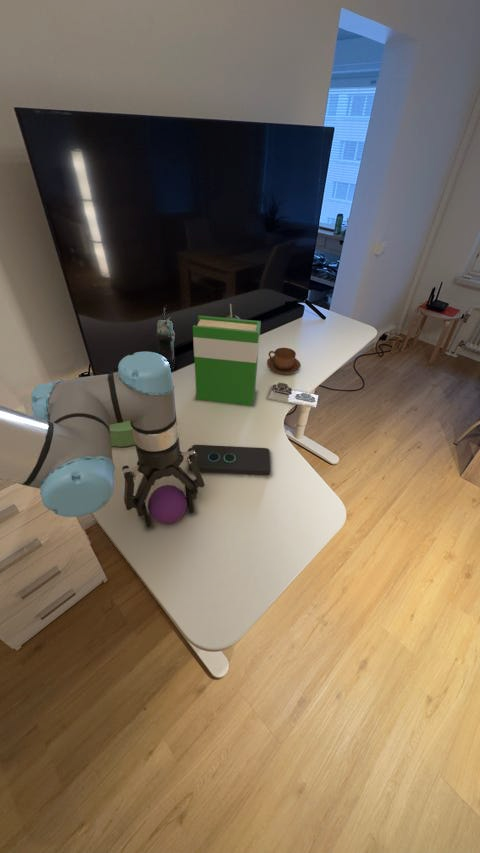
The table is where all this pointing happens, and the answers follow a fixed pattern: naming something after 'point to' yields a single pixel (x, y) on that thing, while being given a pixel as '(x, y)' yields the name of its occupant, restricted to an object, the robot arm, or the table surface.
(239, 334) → the hardback book
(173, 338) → the ceramic cat
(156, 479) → the robot arm
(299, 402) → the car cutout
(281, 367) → the cup and saucer
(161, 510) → the ball
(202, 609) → the table surface
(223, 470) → the smart home device
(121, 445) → the bowl
